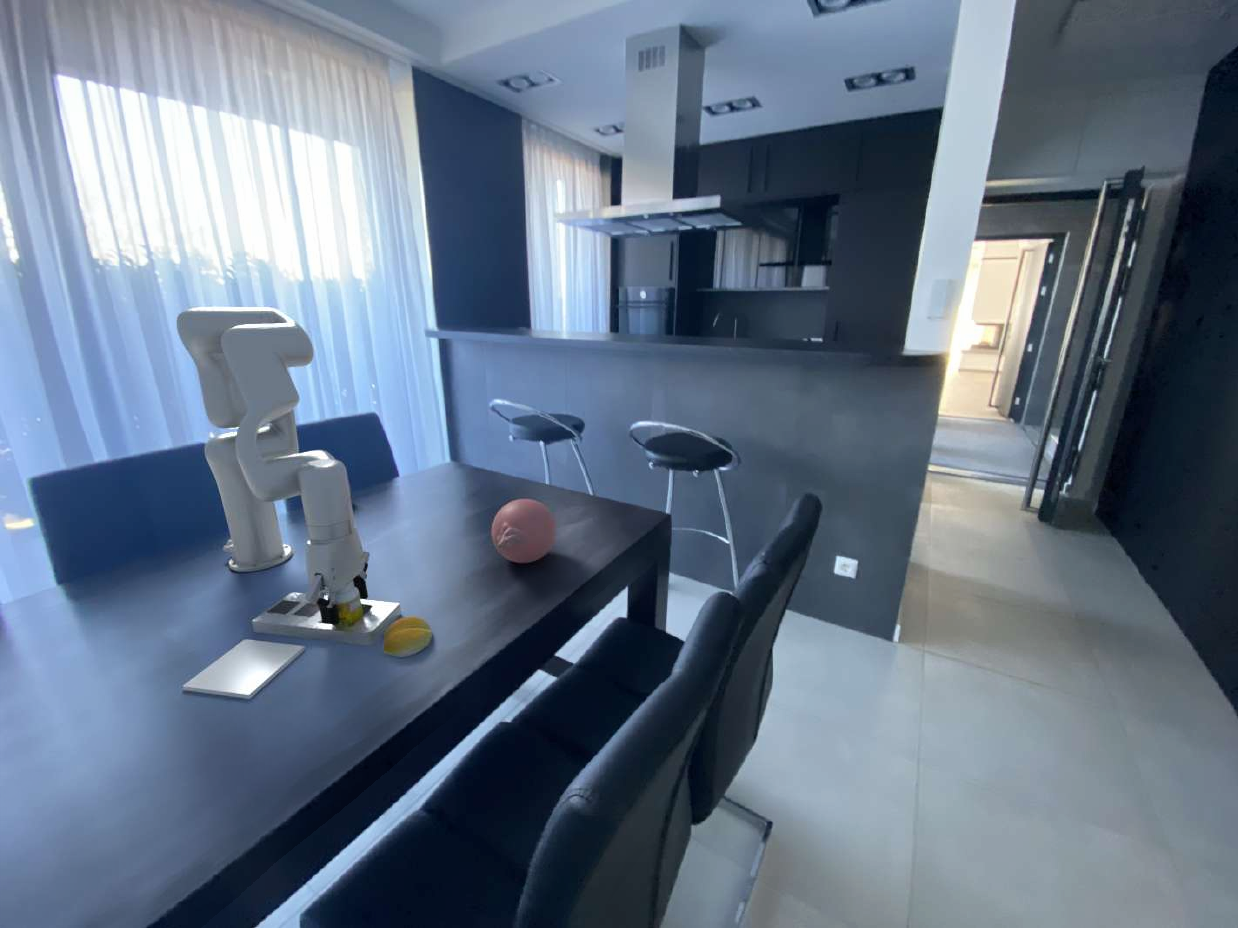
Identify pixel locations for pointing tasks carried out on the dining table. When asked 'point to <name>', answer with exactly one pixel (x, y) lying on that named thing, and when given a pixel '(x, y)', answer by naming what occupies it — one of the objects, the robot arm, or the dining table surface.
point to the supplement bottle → (348, 604)
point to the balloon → (523, 530)
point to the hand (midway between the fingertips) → (346, 609)
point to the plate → (244, 669)
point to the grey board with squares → (306, 622)
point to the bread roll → (407, 637)
